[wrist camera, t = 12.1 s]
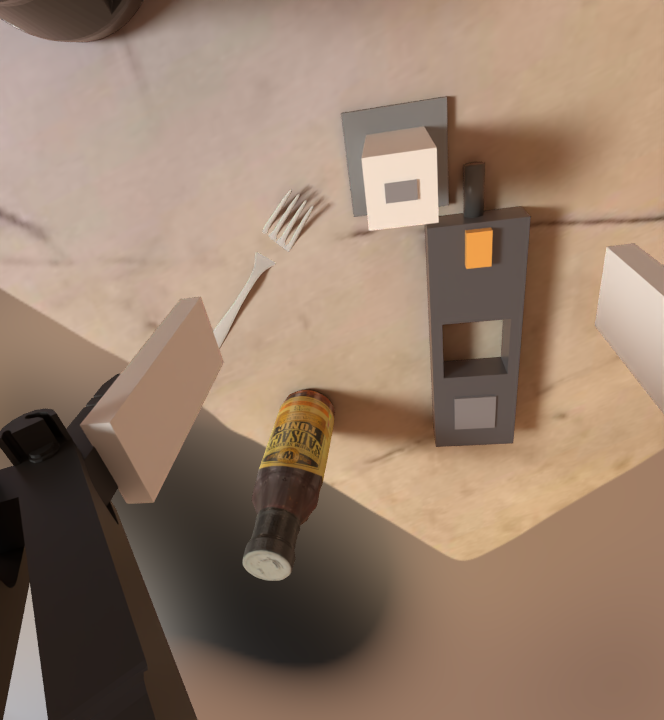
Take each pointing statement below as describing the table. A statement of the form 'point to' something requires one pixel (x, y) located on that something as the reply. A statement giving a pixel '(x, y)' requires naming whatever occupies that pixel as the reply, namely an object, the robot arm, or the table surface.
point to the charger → (400, 178)
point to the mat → (393, 119)
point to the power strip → (476, 314)
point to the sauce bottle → (289, 482)
